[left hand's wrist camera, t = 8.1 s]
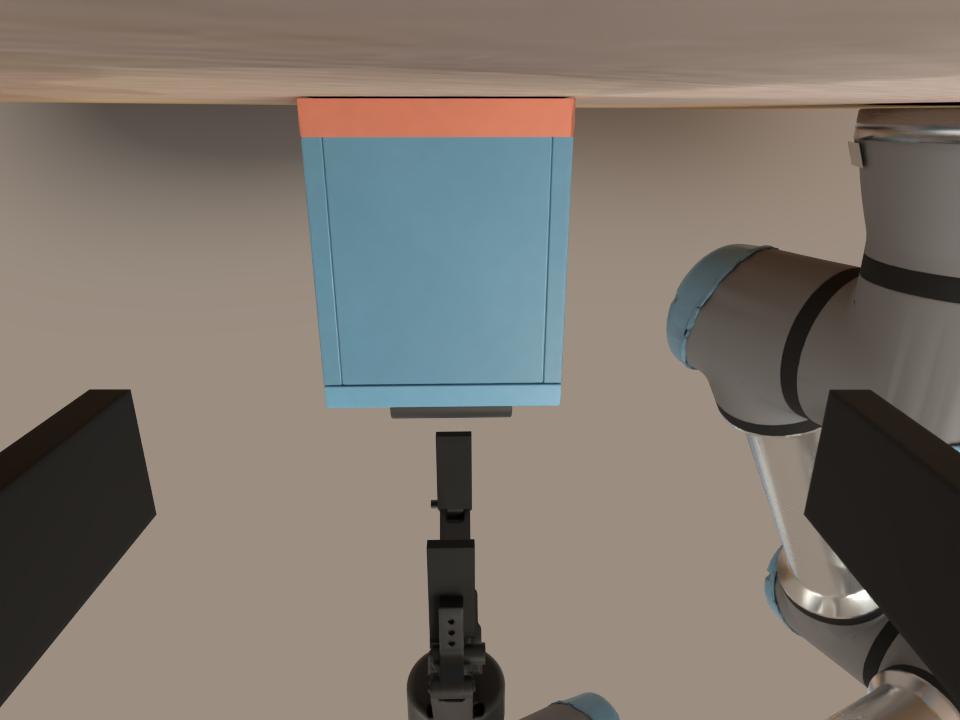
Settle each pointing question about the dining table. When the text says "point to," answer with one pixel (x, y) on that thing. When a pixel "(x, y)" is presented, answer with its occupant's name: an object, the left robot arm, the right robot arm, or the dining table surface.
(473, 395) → the lid
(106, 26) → the dining table surface
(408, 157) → the chest
